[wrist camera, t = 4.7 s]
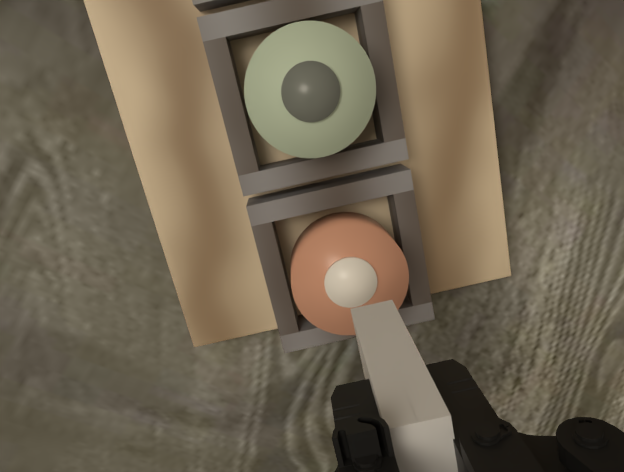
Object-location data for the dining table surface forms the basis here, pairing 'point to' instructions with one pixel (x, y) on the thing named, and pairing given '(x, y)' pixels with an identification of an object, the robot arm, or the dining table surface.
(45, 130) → the dining table surface
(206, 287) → the panel
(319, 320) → the terracotta button
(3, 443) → the dining table surface
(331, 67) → the sage button
